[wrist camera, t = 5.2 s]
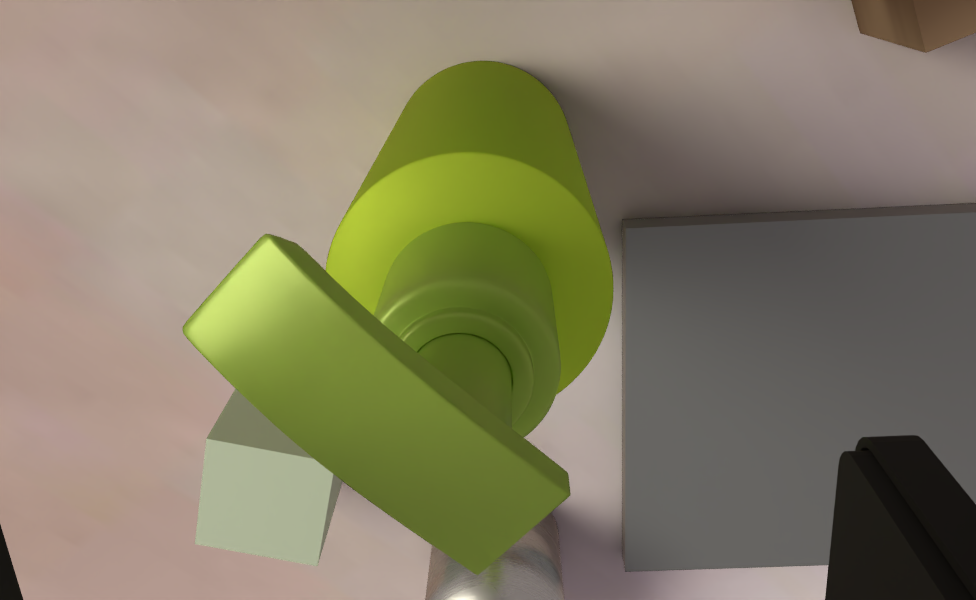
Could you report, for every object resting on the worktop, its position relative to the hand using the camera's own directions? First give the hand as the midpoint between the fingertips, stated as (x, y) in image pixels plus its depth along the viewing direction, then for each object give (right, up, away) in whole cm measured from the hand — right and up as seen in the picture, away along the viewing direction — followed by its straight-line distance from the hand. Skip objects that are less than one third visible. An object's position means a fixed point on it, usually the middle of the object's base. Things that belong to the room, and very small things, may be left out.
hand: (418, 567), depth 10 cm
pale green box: (-6, -1, +25) cm, 25 cm away
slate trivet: (+13, 0, +24) cm, 27 cm away
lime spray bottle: (0, +8, +21) cm, 22 cm away
